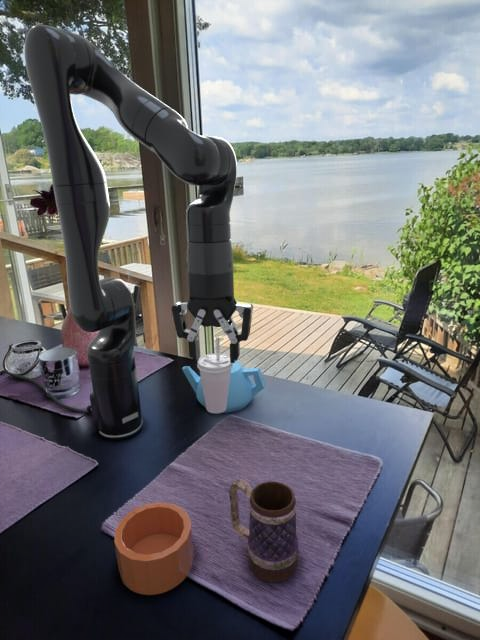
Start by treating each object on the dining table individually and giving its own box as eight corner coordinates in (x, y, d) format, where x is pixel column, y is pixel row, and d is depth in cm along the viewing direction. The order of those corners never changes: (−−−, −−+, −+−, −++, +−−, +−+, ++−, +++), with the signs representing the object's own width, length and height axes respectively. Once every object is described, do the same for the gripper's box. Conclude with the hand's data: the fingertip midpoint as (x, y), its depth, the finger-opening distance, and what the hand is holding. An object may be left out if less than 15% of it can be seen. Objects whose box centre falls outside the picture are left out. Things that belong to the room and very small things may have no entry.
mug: (306, 556, 63) (308, 487, 59) (283, 594, 58) (282, 521, 54) (247, 527, 69) (245, 462, 65) (220, 559, 63) (216, 490, 59)
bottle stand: (106, 589, 59) (100, 555, 57) (137, 530, 69) (132, 498, 67) (181, 600, 57) (177, 565, 56) (201, 537, 67) (199, 505, 65)
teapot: (213, 424, 97) (210, 380, 93) (182, 397, 109) (179, 357, 105) (269, 404, 104) (268, 362, 101) (235, 380, 117) (233, 343, 113)
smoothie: (229, 419, 78) (228, 345, 73) (194, 415, 79) (191, 343, 74) (236, 401, 83) (236, 332, 79) (204, 398, 85) (201, 329, 80)
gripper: (256, 263, 75) (257, 353, 80) (175, 261, 77) (181, 350, 83) (250, 273, 68) (251, 372, 73) (160, 271, 70) (168, 367, 76)
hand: (214, 360), depth 78 cm, fingers closed on smoothie, 6 cm apart
